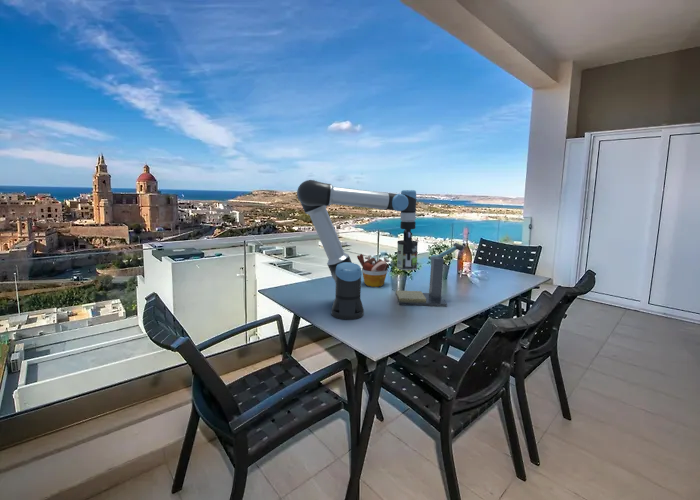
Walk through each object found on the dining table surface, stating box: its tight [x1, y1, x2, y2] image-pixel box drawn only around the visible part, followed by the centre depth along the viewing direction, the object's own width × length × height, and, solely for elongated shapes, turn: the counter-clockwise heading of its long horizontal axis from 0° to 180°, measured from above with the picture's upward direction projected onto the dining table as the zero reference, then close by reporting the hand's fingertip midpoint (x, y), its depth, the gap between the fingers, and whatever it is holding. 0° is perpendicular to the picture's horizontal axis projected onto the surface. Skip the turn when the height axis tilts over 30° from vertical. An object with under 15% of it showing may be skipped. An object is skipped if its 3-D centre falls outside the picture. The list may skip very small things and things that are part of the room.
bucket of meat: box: [356, 253, 390, 288], centre depth 199 cm, size 20×16×20 cm
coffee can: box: [396, 239, 419, 271], centre depth 165 cm, size 10×10×14 cm
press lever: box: [430, 242, 464, 259], centre depth 174 cm, size 18×8×4 cm, turn 87°
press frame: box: [395, 257, 448, 308], centre depth 171 cm, size 24×18×24 cm
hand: (406, 264), depth 166 cm, fingers closed on coffee can, 10 cm apart
